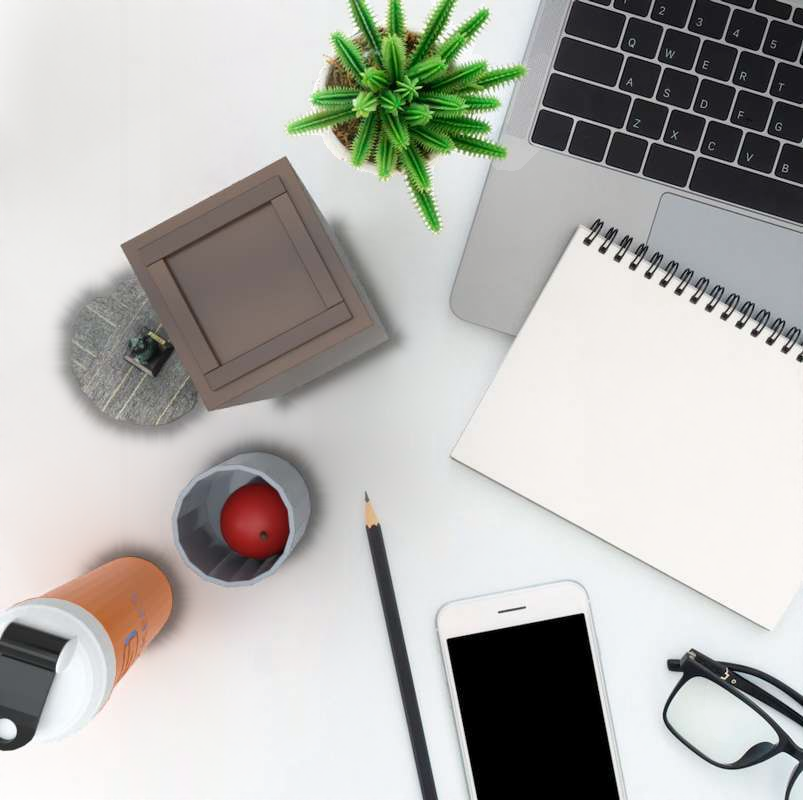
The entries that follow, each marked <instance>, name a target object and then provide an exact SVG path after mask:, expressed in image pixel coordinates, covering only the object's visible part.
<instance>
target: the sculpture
mask: <svg viewBox="0 0 803 800" xmlns="http://www.w3.org/2000/svg"><path fill="white" fill-rule="evenodd" d="M71 328H72V329H71V354H70V355H71V356H70V357H71V358H70V371H71V372H72V373H73V375H74V377H75V379H76V380H77V381H78V384H79V388H80V389H81V391H82V392H83V394H85V395H86V396H87V398H89V399H90V401H91V402H92V404H93V405H94V406H95V407H96V408H97V409H99V410H100V412H102V413H104V414H105V415H107V416H108V417H111V418H112V419H114V420H117V421H119V422H123V423H131V424H132V425H142V426H158V425H162V424H163V425H165V424H169V423H171V422H173V421H174V420H176V419H179V418H180V417H181V416H183V415H184V414H185V413H188V412H190V411H191V410H192V409H193V408H194V405H195V404H196V403H197V398H196V395H197V393H198V391H197V389H196V387H195V385H194V384H193V382H192V380H191V378H190V376H189V374H188V372H187V370H186V369H185V367H184V365H183V363H182V361H181V359H180V357H179V355H178V353H177V352H176V350H175V348H174V346H173V344H172V342H171V340H170V338H169V337H168V335H167V333H166V331H165V329H164V327H163V325H162V323H161V321H160V320H159V318H158V316H157V314H156V312H155V310H154V308H153V306H152V305H151V303H150V301H149V299H148V297H147V295H146V293H145V291H144V289H143V288H142V286H141V284H140V282H139V280H138V278H137V277H133V278H130V279H125V280H123V281H122V282H121V283H120V284H118V286H117V287H116V288H115V290H113V292H112V293H111V294H110V296H109V297H107V298H103V297H95V298H93V299H92V300H90V301H89V302H88V303H87V304H86V306H85V307H84V308H83V309H82V311H81V312H80V314H79V316H77V317H76V320H75V323H73V325H72V327H71Z"/></svg>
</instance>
